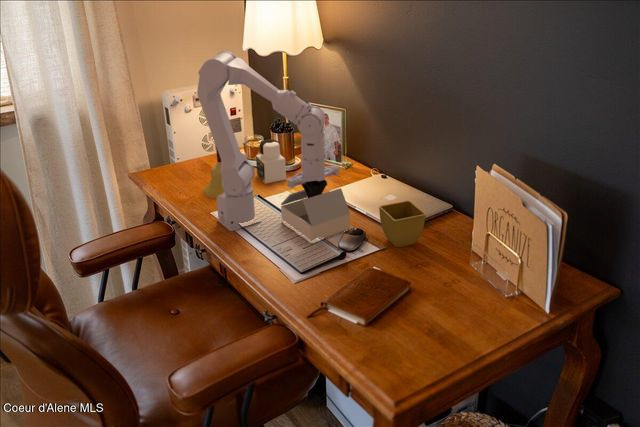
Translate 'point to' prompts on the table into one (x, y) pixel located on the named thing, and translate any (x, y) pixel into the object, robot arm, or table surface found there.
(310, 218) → the near flap
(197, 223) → the table surface
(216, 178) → the handbell
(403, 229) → the flower pot
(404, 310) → the table surface
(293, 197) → the far flap
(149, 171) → the table surface
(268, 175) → the medicine bottle
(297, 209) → the storage box
